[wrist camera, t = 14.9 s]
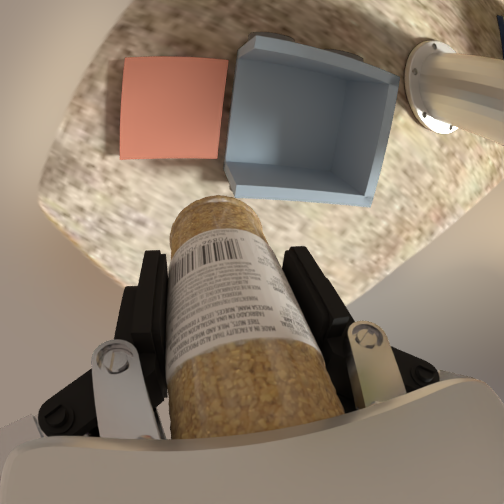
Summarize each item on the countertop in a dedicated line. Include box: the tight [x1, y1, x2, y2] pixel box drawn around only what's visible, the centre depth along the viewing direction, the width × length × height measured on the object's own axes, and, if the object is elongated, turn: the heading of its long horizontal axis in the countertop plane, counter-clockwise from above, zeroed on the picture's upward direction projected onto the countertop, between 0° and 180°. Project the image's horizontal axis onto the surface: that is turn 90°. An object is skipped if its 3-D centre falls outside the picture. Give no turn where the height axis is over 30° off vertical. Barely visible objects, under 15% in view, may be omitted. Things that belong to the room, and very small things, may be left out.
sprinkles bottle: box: [165, 195, 345, 439], centre depth 9 cm, size 5×5×13 cm
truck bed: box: [223, 32, 400, 207], centre depth 23 cm, size 12×15×8 cm
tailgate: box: [120, 56, 229, 160], centre depth 22 cm, size 1×9×9 cm
